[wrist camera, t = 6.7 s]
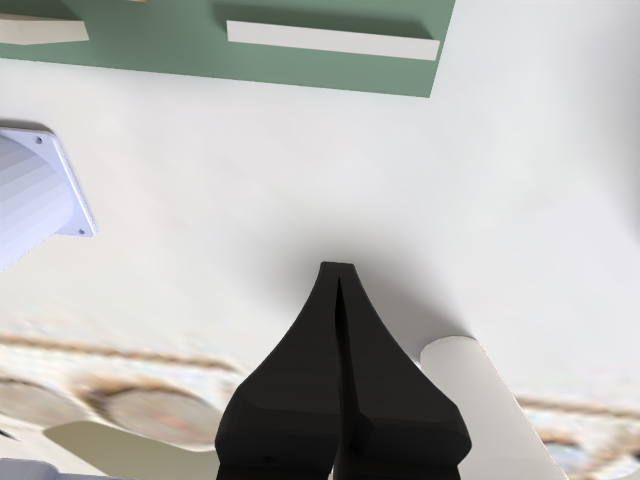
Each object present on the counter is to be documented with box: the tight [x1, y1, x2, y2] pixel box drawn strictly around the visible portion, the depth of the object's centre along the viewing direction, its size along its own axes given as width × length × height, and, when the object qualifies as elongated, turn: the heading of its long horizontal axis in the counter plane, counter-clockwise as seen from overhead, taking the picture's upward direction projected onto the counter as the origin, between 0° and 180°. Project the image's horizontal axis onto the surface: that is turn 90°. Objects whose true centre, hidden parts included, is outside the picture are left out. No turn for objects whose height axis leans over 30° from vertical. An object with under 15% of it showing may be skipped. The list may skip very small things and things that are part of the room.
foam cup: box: [420, 336, 569, 480], centre depth 26 cm, size 10×9×13 cm
